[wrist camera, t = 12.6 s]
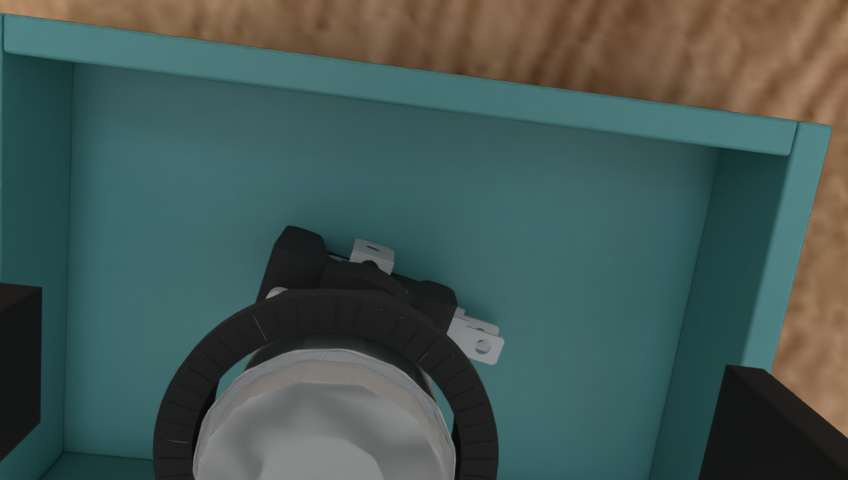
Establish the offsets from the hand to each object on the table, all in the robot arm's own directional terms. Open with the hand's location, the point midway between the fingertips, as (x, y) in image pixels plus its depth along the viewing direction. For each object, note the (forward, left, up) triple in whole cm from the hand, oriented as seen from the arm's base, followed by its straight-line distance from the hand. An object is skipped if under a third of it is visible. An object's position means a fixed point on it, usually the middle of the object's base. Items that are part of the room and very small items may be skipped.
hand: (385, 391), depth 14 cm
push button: (0, 0, -7) cm, 7 cm away
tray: (0, 0, -7) cm, 7 cm away
